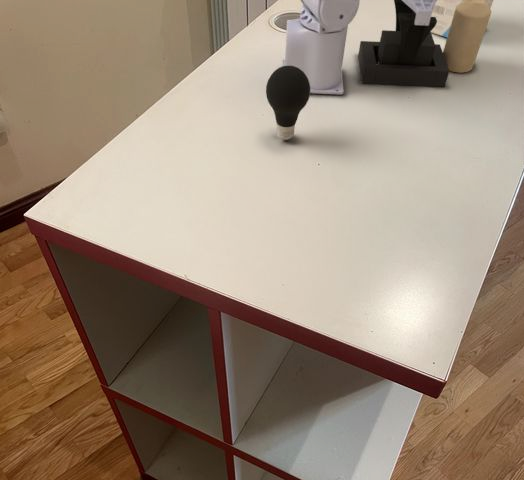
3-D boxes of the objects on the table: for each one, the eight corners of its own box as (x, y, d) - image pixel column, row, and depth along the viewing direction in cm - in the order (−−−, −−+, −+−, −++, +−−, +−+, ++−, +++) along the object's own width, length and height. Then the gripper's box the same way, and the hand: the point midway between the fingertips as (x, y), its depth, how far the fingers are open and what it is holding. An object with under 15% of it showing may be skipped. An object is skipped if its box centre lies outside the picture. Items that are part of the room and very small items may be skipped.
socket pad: (361, 83, 84) (364, 67, 82) (358, 56, 89) (360, 40, 87) (444, 87, 84) (449, 71, 82) (435, 59, 89) (440, 44, 87)
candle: (473, 74, 86) (496, 7, 78) (439, 71, 87) (459, 4, 79) (471, 59, 89) (494, -7, 81) (439, 56, 90) (458, -10, 82)
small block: (379, 70, 84) (385, 43, 81) (377, 55, 87) (382, 30, 84) (428, 72, 84) (435, 46, 81) (424, 58, 87) (431, 32, 84)
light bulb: (281, 123, 76) (285, 52, 68) (313, 138, 74) (321, 67, 66) (256, 140, 73) (257, 68, 65) (288, 156, 71) (293, 84, 63)
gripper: (464, -25, 69) (434, 78, 80) (446, -61, 78) (421, 36, 89) (412, -27, 69) (389, 75, 80) (399, -63, 78) (380, 34, 89)
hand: (403, 55), depth 84 cm, fingers closed on small block, 5 cm apart
